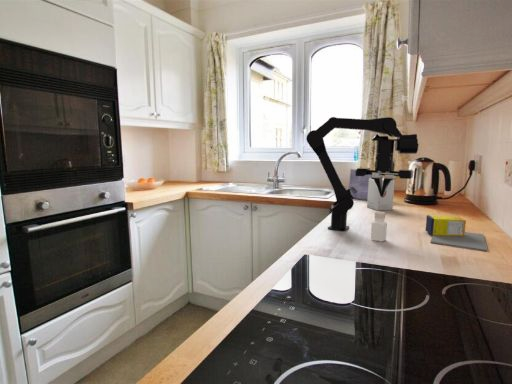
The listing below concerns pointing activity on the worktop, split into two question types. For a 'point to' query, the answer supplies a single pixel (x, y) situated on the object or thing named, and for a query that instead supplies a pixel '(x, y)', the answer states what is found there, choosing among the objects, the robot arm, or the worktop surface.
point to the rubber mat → (462, 241)
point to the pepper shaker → (379, 227)
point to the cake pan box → (359, 185)
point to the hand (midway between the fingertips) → (382, 196)
